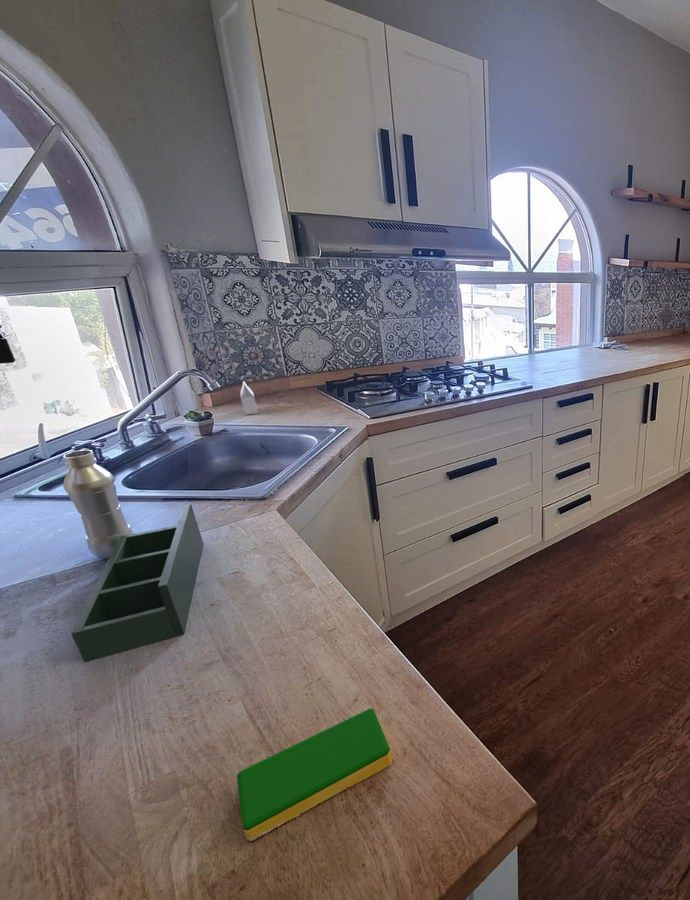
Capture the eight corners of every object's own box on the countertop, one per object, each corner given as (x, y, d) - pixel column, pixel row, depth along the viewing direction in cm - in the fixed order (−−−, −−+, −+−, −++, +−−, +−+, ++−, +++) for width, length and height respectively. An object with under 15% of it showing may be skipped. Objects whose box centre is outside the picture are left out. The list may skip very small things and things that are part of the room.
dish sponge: (241, 787, 54) (236, 771, 53) (375, 720, 62) (372, 706, 61) (248, 845, 49) (242, 829, 48) (393, 764, 57) (390, 749, 56)
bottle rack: (84, 662, 69) (59, 610, 66) (128, 559, 91) (112, 516, 88) (184, 634, 75) (166, 584, 71) (203, 544, 97) (190, 502, 93)
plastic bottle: (131, 539, 97) (95, 444, 90) (145, 550, 94) (110, 452, 87) (86, 555, 92) (45, 455, 85) (100, 567, 89) (58, 464, 81)
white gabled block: (256, 408, 174) (250, 380, 170) (258, 413, 169) (251, 384, 165) (244, 409, 172) (237, 381, 168) (245, 415, 167) (237, 386, 163)
